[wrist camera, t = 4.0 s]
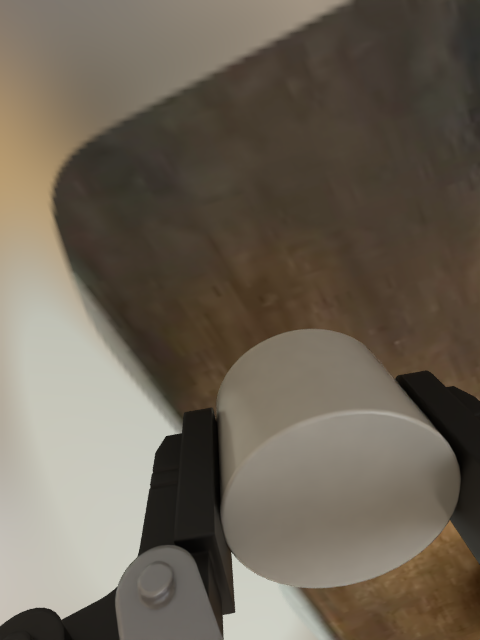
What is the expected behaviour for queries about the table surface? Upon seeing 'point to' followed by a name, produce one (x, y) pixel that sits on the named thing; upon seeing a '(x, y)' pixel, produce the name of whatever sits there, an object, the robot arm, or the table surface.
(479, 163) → the table surface
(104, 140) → the table surface
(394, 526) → the stone
